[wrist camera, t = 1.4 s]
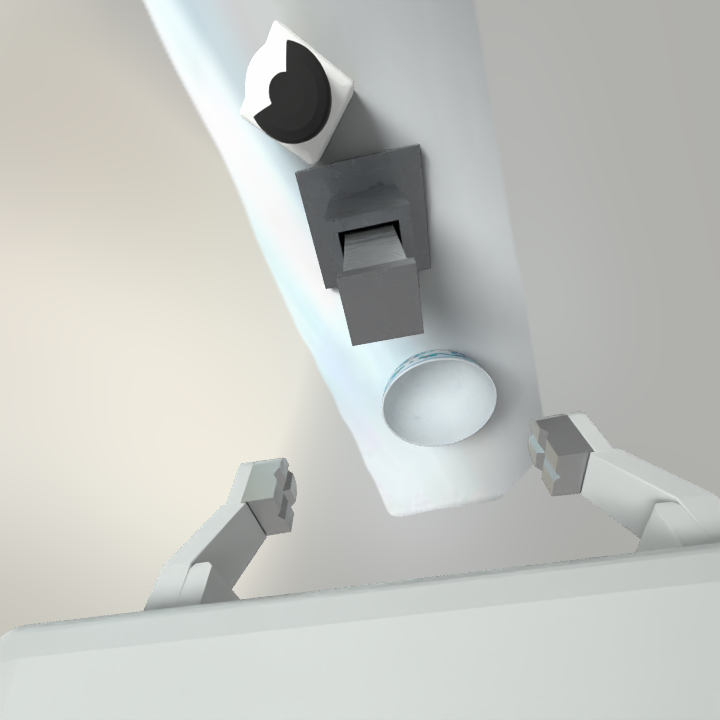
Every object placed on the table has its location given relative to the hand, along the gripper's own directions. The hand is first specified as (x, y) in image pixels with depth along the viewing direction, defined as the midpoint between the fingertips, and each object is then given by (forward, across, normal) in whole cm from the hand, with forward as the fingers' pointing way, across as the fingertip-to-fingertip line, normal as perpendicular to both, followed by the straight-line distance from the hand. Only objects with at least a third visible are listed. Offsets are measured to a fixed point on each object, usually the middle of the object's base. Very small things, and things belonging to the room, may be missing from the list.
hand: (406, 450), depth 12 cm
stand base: (+35, 0, 0) cm, 35 cm away
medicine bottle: (+35, +4, -12) cm, 37 cm away
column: (+33, 0, 0) cm, 33 cm away
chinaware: (+35, -5, +23) cm, 42 cm away
